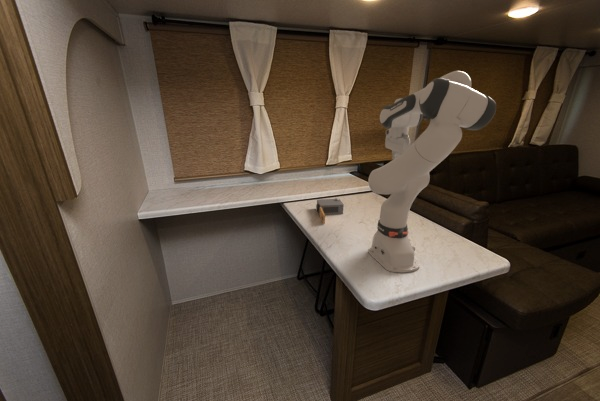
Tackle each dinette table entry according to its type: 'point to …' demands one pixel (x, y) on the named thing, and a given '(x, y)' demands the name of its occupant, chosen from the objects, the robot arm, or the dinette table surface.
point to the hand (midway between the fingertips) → (395, 159)
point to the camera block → (330, 206)
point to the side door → (322, 215)
